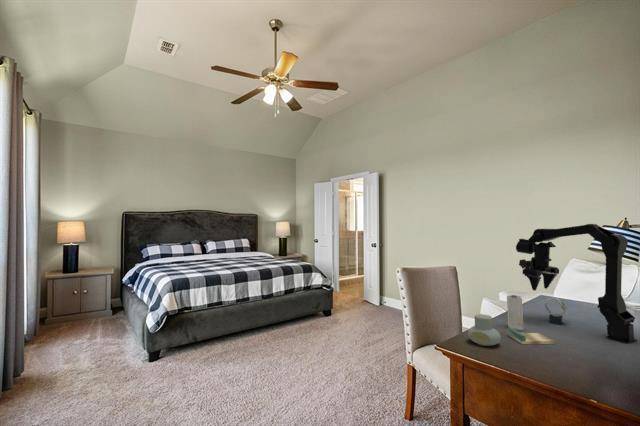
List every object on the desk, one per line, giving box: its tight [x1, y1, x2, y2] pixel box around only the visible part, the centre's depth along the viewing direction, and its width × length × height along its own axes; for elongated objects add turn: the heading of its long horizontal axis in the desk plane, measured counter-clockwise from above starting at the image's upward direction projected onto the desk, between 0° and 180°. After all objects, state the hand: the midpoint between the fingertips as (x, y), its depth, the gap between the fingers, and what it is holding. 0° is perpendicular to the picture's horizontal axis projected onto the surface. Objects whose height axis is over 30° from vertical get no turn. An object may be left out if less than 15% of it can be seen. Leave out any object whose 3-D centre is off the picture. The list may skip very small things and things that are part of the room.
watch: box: [544, 296, 568, 326], centre depth 138 cm, size 6×8×11 cm
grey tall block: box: [506, 294, 524, 331], centre depth 132 cm, size 5×5×14 cm
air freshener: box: [467, 313, 502, 347], centre depth 115 cm, size 11×8×10 cm
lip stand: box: [506, 327, 556, 345], centre depth 118 cm, size 12×9×3 cm
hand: (540, 289), depth 142 cm, fingers open, 9 cm apart
